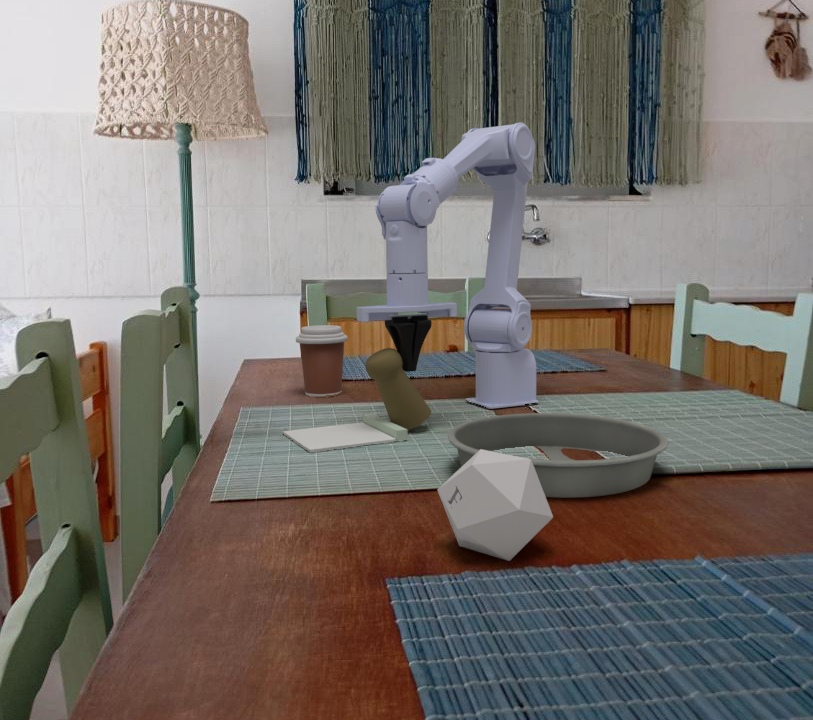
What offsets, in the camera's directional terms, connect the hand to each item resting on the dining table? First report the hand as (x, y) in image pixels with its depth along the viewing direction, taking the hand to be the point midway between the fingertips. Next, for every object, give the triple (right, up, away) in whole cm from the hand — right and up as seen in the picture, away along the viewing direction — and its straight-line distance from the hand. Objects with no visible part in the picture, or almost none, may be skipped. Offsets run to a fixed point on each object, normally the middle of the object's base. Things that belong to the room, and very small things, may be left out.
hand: (408, 370), depth 114 cm
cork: (+1, -7, +1) cm, 7 cm away
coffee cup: (-15, -5, +30) cm, 34 cm away
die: (+7, -15, -45) cm, 48 cm away
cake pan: (+17, -12, -21) cm, 29 cm away
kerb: (-3, -9, -1) cm, 9 cm away
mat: (-10, -9, -3) cm, 14 cm away
